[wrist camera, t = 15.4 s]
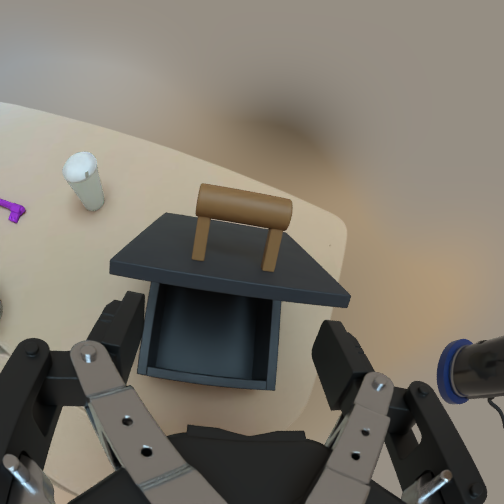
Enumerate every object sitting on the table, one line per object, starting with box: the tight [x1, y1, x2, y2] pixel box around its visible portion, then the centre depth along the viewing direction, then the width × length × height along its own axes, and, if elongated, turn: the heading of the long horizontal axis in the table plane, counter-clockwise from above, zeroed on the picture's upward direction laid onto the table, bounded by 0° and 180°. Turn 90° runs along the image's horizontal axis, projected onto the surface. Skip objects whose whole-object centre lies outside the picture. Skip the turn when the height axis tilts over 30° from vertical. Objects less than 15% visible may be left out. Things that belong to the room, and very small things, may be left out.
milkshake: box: [62, 152, 104, 211], centre depth 33 cm, size 4×5×10 cm
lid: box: [109, 183, 351, 308], centre depth 22 cm, size 17×13×5 cm
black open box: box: [137, 282, 281, 391], centre depth 31 cm, size 16×13×8 cm
